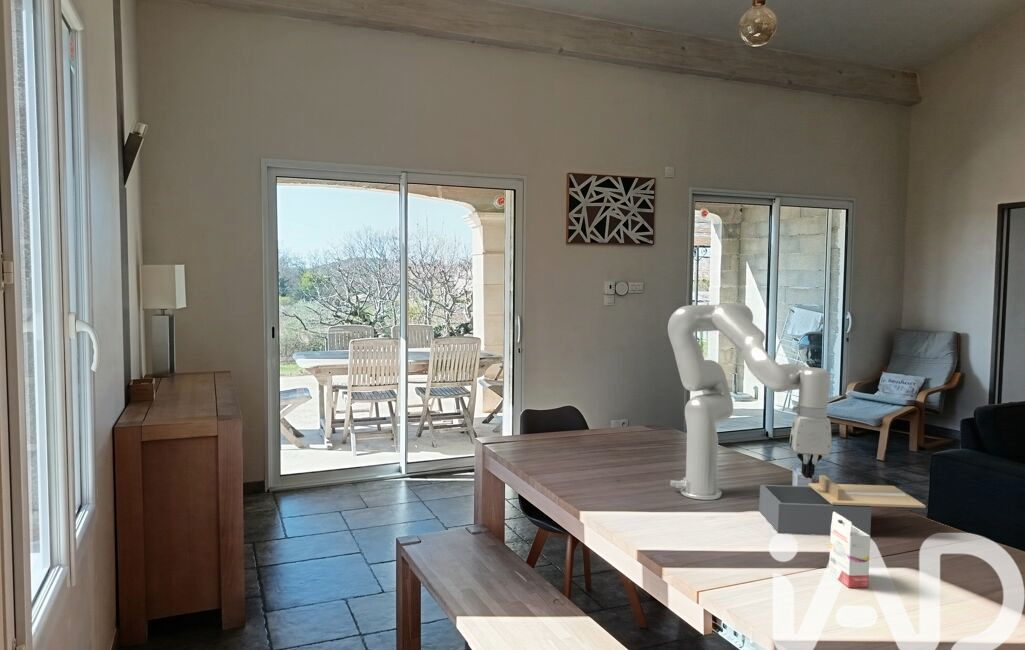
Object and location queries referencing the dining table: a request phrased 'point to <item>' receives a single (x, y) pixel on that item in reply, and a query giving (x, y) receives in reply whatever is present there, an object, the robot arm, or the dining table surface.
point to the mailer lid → (863, 494)
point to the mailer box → (807, 510)
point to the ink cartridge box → (849, 553)
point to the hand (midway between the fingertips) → (807, 476)
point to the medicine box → (799, 478)
